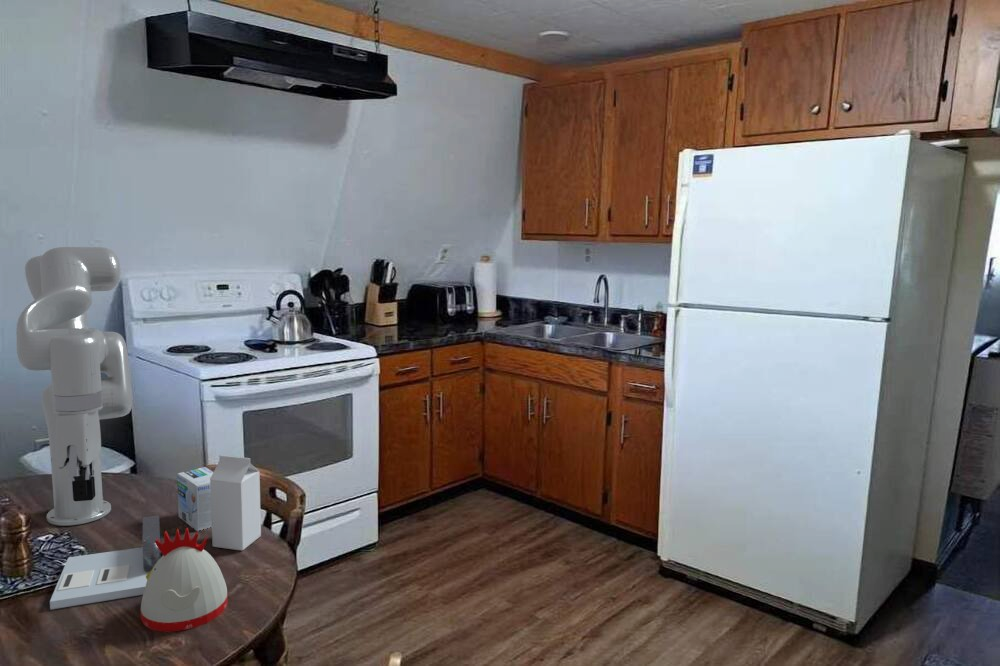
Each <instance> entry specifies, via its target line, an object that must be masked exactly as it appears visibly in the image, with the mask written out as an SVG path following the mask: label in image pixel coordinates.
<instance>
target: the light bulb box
mask: <svg viewBox="0 0 1000 666" xmlns="http://www.w3.org/2000/svg"><path fill="white" fill-rule="evenodd" d="M213 472H214V471H212V470H211V469H209V468H208V467H206V466H203V467H199V468H196V469H191V470H187V471H182V472H179V473H176V476H177V477H176V478H177V479H176V480H177V506H178V508H177V509H178V518H179V519H180V520H182V521H183V522H184V523H186V524H187V525H189V527H191V528H192V529H193V528H194V530H195V532H200V531H199V530H201V531H204V530H207V528H208V529H211V528H212V517H211V489H210V478H211V476H212V474H213ZM210 527H211V528H210ZM203 529H204V530H203Z"/></svg>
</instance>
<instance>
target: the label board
mask: <svg viewBox="0 0 1000 666" xmlns="http://www.w3.org/2000/svg"><path fill="white" fill-rule="evenodd" d="M148 573H149V572H146V571H144V570H143V551H142V546H141V547H135V548H134V547H133V548H128V549H127V548H126V549H121V550H113V551H107V552H98V553H91V554H85V555H76V556H70V557H68V558H67V560H66V562H65V565H64V567H63V570H62V571H61V574H60V577H59V579H58V581H57V583H56V585H55V588H54V591H53V593H52V595H51V598H50V600H49V609H50V610H56V609H63V608H68V607H74V606H82V605H86V604H87V605H88V604H93V603H99V602H105V601H112V600H118V599H125V598H130V597H131V598H132V597H137V596H143V593H144V590H145V586H146V583H147V578H146V575H147V574H148Z"/></svg>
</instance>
